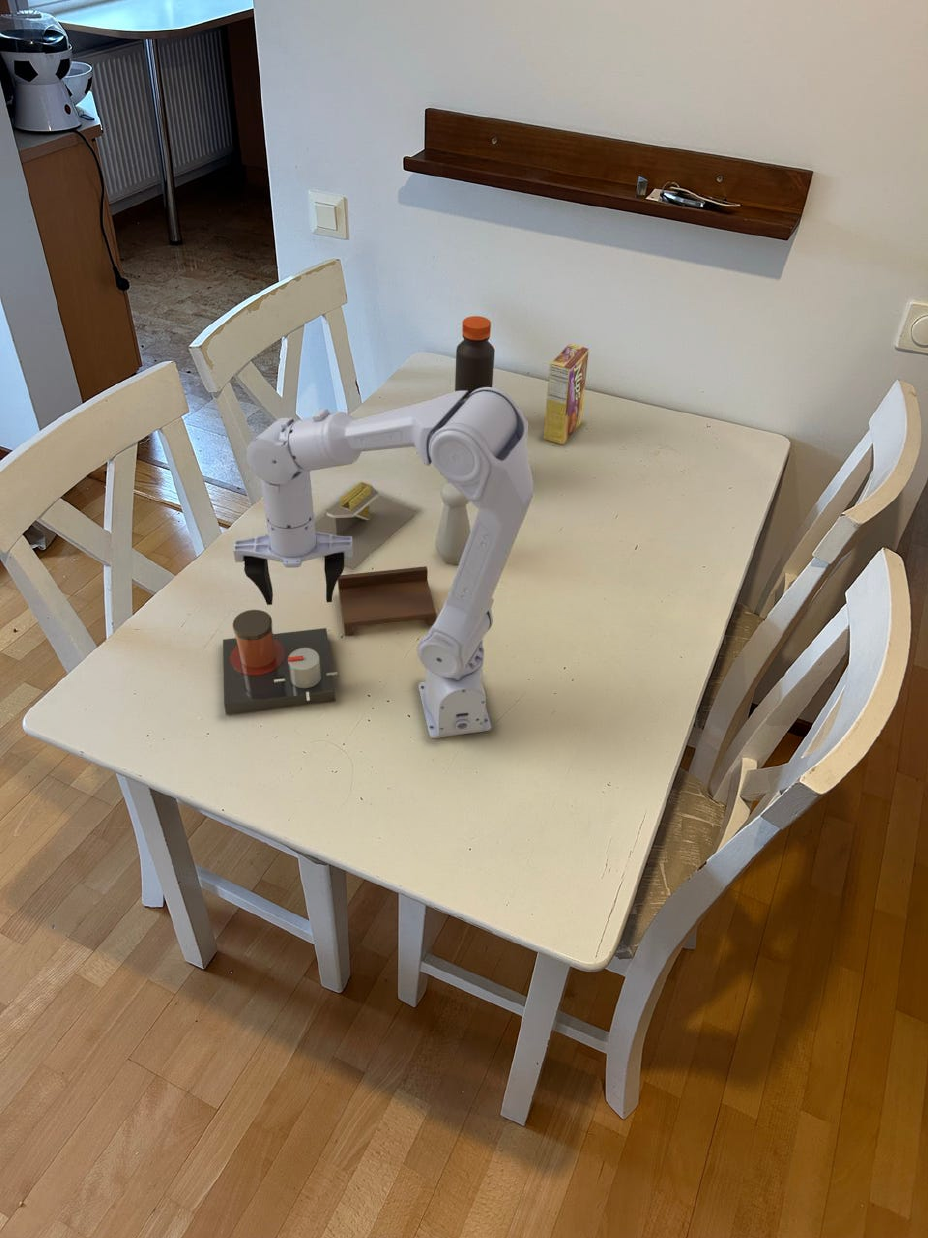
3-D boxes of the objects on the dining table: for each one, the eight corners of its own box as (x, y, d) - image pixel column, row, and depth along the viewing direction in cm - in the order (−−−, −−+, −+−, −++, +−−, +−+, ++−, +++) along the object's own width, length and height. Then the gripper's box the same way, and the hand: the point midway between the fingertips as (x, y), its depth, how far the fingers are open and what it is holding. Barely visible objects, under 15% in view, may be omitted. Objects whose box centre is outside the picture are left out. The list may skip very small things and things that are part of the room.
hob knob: (319, 664, 121) (317, 644, 119) (322, 686, 118) (320, 666, 116) (289, 668, 121) (286, 647, 118) (291, 690, 118) (288, 669, 115)
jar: (284, 652, 123) (280, 619, 119) (258, 674, 120) (253, 641, 116) (256, 637, 125) (251, 604, 121) (230, 658, 122) (224, 625, 117)
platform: (418, 511, 151) (418, 477, 146) (352, 569, 139) (350, 535, 135) (359, 487, 155) (357, 454, 150) (291, 541, 143) (287, 507, 139)
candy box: (560, 417, 174) (569, 342, 164) (581, 423, 173) (591, 348, 162) (541, 439, 168) (549, 362, 158) (562, 445, 167) (572, 368, 156)
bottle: (496, 421, 172) (503, 320, 158) (477, 437, 168) (483, 334, 154) (466, 410, 175) (470, 309, 161) (446, 425, 170) (449, 323, 157)
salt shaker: (467, 571, 140) (471, 501, 131) (431, 565, 141) (432, 495, 132) (475, 547, 144) (479, 478, 135) (439, 542, 145) (441, 473, 136)
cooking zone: (286, 672, 120) (286, 671, 120) (230, 678, 119) (230, 678, 119) (283, 634, 125) (283, 634, 125) (229, 640, 124) (229, 640, 124)
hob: (341, 707, 119) (340, 695, 117) (226, 721, 116) (224, 710, 115) (331, 637, 128) (330, 626, 127) (224, 649, 126) (222, 638, 124)
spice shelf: (436, 625, 131) (436, 602, 128) (345, 636, 128) (343, 612, 125) (426, 589, 136) (426, 566, 133) (339, 598, 134) (337, 575, 131)
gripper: (225, 536, 107) (240, 621, 116) (350, 532, 108) (356, 616, 117) (230, 501, 112) (244, 585, 121) (350, 497, 113) (355, 581, 122)
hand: (299, 598), depth 119 cm, fingers open, 7 cm apart
